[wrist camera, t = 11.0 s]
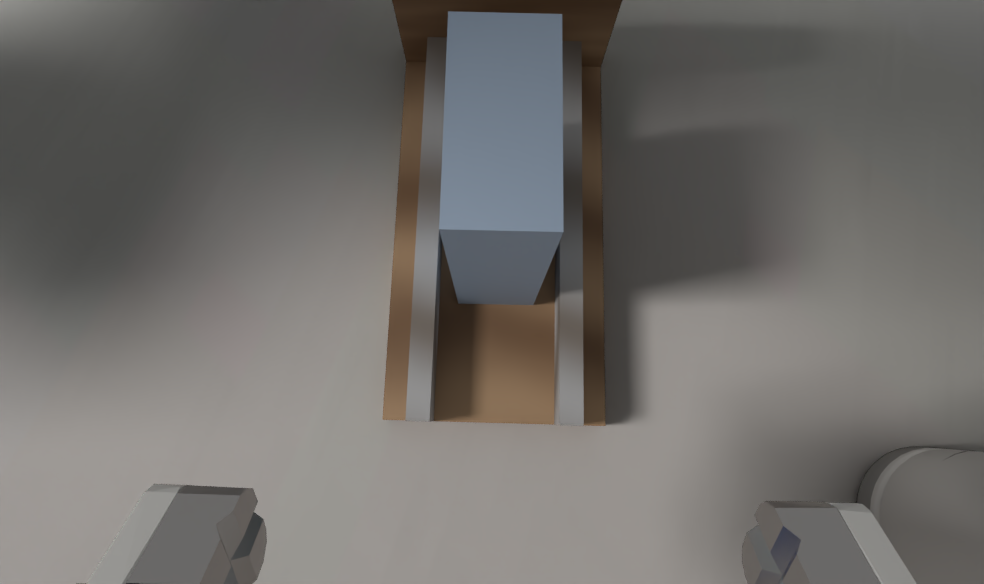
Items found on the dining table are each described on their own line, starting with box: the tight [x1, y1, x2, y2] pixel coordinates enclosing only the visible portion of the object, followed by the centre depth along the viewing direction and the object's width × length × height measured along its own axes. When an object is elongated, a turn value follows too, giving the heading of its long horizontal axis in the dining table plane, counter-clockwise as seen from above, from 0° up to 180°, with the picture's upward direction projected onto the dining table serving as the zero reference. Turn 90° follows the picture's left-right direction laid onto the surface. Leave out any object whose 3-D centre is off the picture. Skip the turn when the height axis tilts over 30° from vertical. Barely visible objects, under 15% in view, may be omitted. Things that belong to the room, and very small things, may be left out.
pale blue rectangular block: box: [439, 11, 564, 305], centre depth 22 cm, size 7×4×11 cm, turn 179°
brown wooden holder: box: [383, 0, 622, 426], centre depth 23 cm, size 20×10×13 cm, turn 178°
